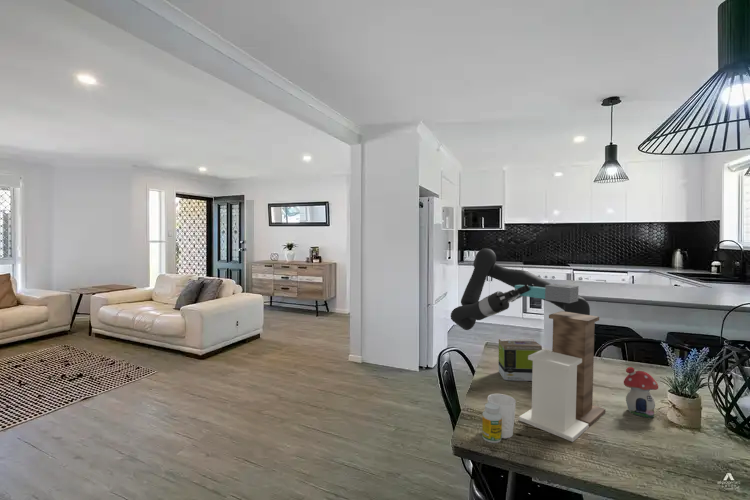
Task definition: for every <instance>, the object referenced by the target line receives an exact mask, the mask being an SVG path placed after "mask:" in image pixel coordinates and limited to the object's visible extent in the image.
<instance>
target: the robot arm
mask: <svg viewBox="0 0 750 500" xmlns="http://www.w3.org/2000/svg"><path fill="white" fill-rule="evenodd" d="M496 262H497V255H496V253H495V252H494V250H492V249H491V248H487V247H486V248H482V249H479V250H478V252H477V253H476V255H475V256H474V259H473V270H472V271H473V272H472V273H471V276H470V278H469V280H468V283H467V285H466V287H465V289H464V291H463V294H462V297H461V300H460V306H456V307H454V309H453V310H452V311H451V313H450V319H451V320H452V322H453V323H454V324H455V325H457V326H458V327H460V328H461V329H462V330H464V331H470V330H471V329H473V328H474V326H475V324H476V322H477V321H482V320H484V319H486V318H488V317H491V316H494V315H497V314H499V313H501V312H504V311H506V310H508V309H509V308H510V303H513V302H515V301H517V300H519V299H520V298H522V297H523V296H520V295H521V294H523V293H525V292H527V291H529V290H530V288H529V286H536V287H544V288H545V285H550V284H551V283H550V282H549V281H547V280H545V279H544V278H541V277H540V276H538V275H535V274H533V273H531V272H529V271H527V270H523V269H516V268H509V267H508V268H507V267H504V266H501V265H499V264H498V263H496ZM487 277H489V278H492V279H495V280H496V281H497V280H498V281H500V282H502V283H503V284H505V285H508V286H510V287H512V288H514V289H511V290H509V291H505V292H503V291H501V290H500V291H499V290H498V291H496V292H494V293H491V294H490V295H487V296H485V297H483V298H482V299H481V300H480V298H481V295H482V293H483V289H484V285H485V282H486V279H487ZM515 285H525V286H523V287H521V288H518V289H515ZM520 293H521V294H520ZM537 299H539V300H542V301H546V302H549V303H550V304H553V305H555V306H556V307H558V308H560V309H562V311H565V312H571V313H578V314H584V315H590V312H591V311H590V309H591V307H590V304H589V303H588V301H587V300H586V299H585V298H584V297H583V296H581V295H578V301H576V302H573V303H564V302H557V301H550V300H545V299H541V298H537Z"/></svg>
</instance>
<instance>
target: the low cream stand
mask: <svg viewBox="0 0 750 500" xmlns="http://www.w3.org/2000/svg"><path fill="white" fill-rule="evenodd" d="M528 360H532V361H533V370H532V381H531V383H532V384H531V385H532V386H531V408H530V409H529V410H527V411H526V412H524V413H523V414H521V415H519V416H518V420H519V422H522V423H525V424H527V425H530V426H532V427H535V428H537V429H540V430H543V432H548V433H549V434H552V435H555V436H557V437H560V438H562V439H565V440H567V441H569V442H572V443H573V442H574V441H576V440H577V439H578V438H579V437H580V436H582V434H584V433H585V432H586V431H587V430H588V429H589V424H588V423H585V422H582V421H579V420H576V387H577V365H579V364H580V363H582V359H581V358H577V357H573V356H568V355H564V354H560V353H556V352H552V351H551V350H546V349H542V350H540V351H538V352H536V353H533V354H531V355H529V356H528Z"/></svg>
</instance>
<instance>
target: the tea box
mask: <svg viewBox="0 0 750 500" xmlns="http://www.w3.org/2000/svg"><path fill="white" fill-rule="evenodd" d="M540 350H543V347H542V345H541V344H539V343H538V342H537V341H535V339H519V338H518V339H516V338H514V339H513V338H499V339H498V372H499V374H500V375H501V377H502V379H503V380H504V381H524V382H525V381H526V382H532V370H533V361H532V360H528V356H529V355H531V354H533V353H536V352H538V351H540Z"/></svg>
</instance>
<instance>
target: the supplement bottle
mask: <svg viewBox="0 0 750 500" xmlns="http://www.w3.org/2000/svg"><path fill="white" fill-rule="evenodd" d="M499 411H500V407H499V406H497V405H494V404H492V403H488V402H487V403H485V404H484V411H483V412H482V417H481V419H482V420H481V421H482V423H481V424H482V427H481V430H482V431H481V434H482V435H481V436H482V438H483V440H484V441H485V442H488V443H491V444H497V443H500V442H501V441H502V438H501V437H502V415H501V414H500V413H499Z"/></svg>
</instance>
